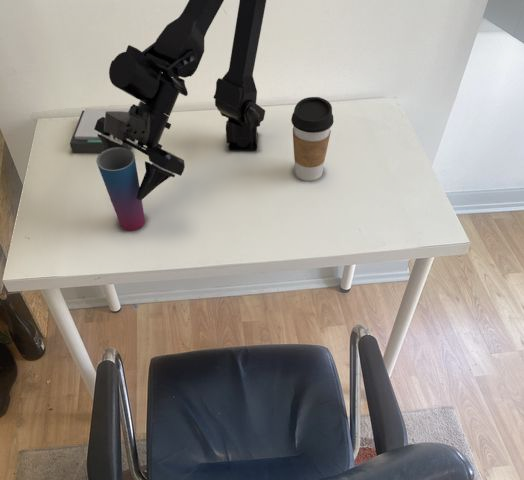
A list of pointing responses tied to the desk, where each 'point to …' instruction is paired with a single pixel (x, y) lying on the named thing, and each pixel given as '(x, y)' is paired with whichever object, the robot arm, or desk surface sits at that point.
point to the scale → (90, 132)
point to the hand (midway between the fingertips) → (122, 189)
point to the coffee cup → (311, 136)
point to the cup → (122, 186)
